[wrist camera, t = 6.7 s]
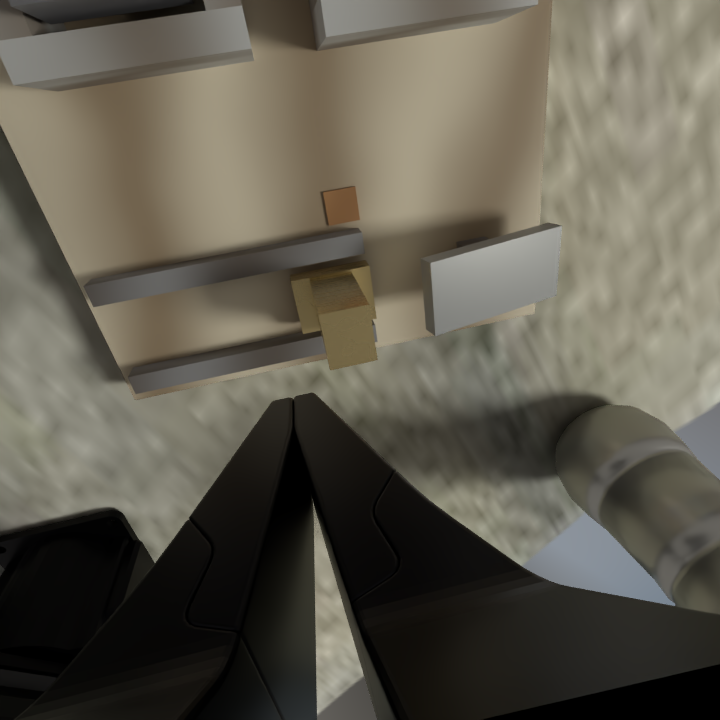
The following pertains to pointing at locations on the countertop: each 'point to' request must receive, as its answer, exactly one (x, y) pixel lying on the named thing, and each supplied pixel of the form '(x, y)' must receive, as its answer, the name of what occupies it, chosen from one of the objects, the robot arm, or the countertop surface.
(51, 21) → the charcoal button
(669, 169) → the countertop surface
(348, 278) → the slider
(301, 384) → the countertop surface
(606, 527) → the plastic bottle
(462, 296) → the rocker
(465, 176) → the panel
